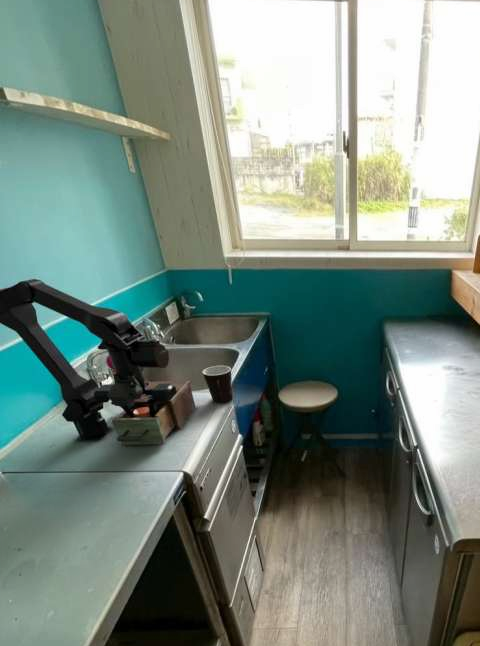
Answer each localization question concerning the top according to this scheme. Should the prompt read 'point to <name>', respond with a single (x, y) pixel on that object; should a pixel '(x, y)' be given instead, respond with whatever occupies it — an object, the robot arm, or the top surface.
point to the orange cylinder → (142, 413)
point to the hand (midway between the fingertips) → (146, 422)
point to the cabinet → (176, 401)
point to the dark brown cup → (219, 383)
